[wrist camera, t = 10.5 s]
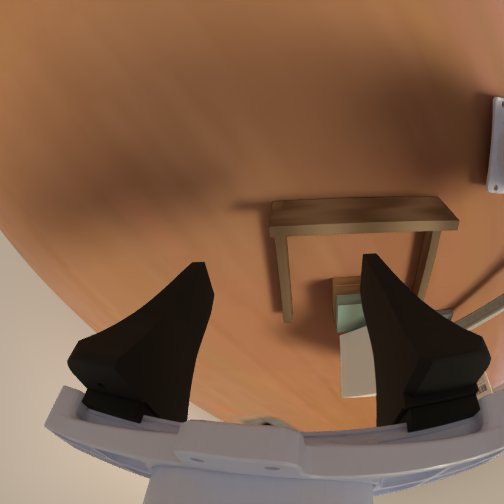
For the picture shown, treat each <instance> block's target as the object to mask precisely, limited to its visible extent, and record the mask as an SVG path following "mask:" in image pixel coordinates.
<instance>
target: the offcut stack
mask: <svg viewBox="0 0 504 504" xmlns="http://www.w3.org/2000/svg"><path fill="white" fill-rule="evenodd" d="M360 282H361V276H353V277H339V278H333V300H332V307H333V314H334V321H335V322H336V327H337V333H339V332H351V331H354V330H357V329H359V328H362V327H365V326H367V325H366V321H365V317H364V313H363V309H362V303H361V295H360Z"/></svg>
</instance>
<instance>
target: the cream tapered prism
mask: <svg viewBox="0 0 504 504" xmlns="http://www.w3.org/2000/svg"><path fill="white" fill-rule="evenodd" d="M340 357H341V398H352V397H368V396H376V380H375V367H374V357H373V351H372V346H371V342H370V338H369V334H368V330H367V326H365V327H362V328H359V329H357V330H354V331H351V332H348V333H345V334H342V335H340Z"/></svg>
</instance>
